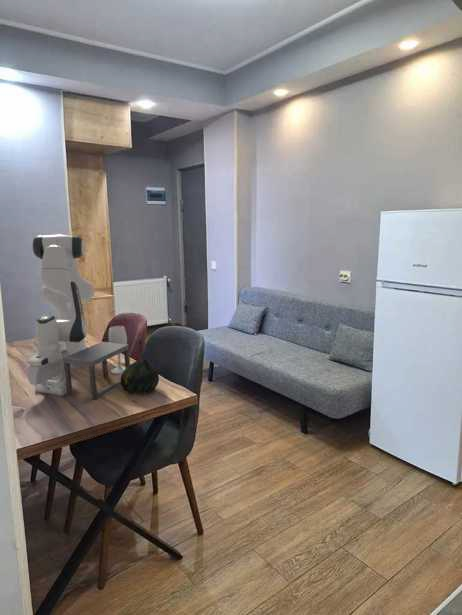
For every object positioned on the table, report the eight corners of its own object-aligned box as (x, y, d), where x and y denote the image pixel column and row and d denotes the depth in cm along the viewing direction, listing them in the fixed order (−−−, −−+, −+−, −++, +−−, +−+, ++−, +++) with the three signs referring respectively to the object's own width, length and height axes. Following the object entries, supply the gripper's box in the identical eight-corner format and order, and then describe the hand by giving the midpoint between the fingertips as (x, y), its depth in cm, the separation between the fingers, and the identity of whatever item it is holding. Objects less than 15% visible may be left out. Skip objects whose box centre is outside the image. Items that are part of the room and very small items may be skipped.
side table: (67, 395, 170) (63, 358, 166) (105, 375, 191) (102, 341, 188) (95, 400, 164) (91, 361, 161) (131, 379, 186) (128, 344, 183)
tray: (35, 391, 175) (33, 380, 174) (46, 385, 180) (45, 375, 179) (61, 395, 169) (60, 384, 168) (72, 390, 175) (71, 379, 174)
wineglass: (124, 374, 192) (121, 330, 187) (107, 373, 193) (103, 329, 189) (132, 368, 200) (129, 325, 196) (115, 367, 202) (112, 325, 197)
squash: (113, 376, 175) (122, 356, 165) (146, 369, 184) (156, 350, 174) (124, 406, 168) (134, 387, 158) (157, 397, 177) (169, 379, 168)
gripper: (62, 347, 182) (65, 377, 185) (23, 362, 164) (28, 395, 166) (74, 348, 180) (77, 379, 183) (36, 364, 161) (40, 397, 164)
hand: (53, 387), depth 174 cm, fingers closed on tray, 6 cm apart
